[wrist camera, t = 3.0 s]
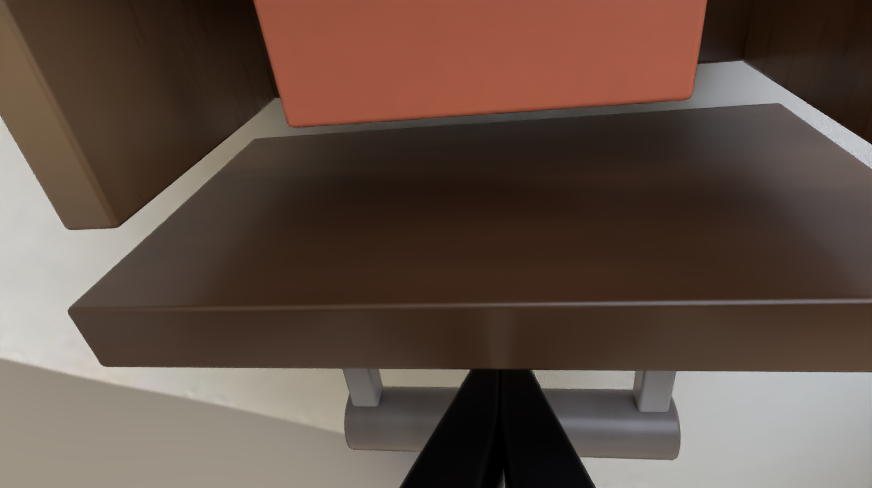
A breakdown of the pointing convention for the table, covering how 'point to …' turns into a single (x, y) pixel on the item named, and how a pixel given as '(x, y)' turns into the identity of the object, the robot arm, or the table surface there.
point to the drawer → (457, 220)
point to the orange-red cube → (475, 56)
